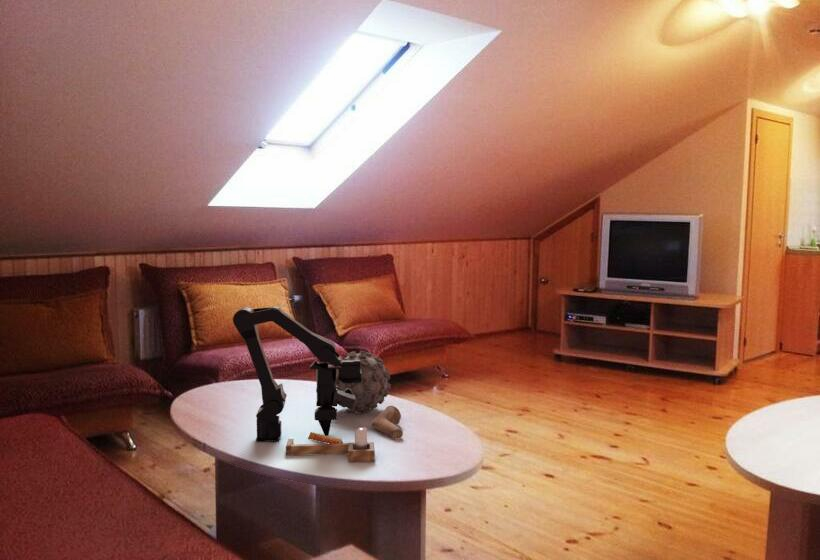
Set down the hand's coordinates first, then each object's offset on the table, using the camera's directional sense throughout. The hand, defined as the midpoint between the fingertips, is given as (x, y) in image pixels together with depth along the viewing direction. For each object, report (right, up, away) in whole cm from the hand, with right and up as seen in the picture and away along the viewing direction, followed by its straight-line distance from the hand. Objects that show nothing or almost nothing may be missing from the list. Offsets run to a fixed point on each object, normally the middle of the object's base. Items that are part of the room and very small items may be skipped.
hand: (326, 435), depth 210 cm
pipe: (+19, -1, +7) cm, 20 cm away
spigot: (+11, -2, -17) cm, 21 cm away
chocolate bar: (0, -2, -4) cm, 4 cm away
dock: (+3, -2, -15) cm, 15 cm away
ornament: (+8, +2, +28) cm, 29 cm away
